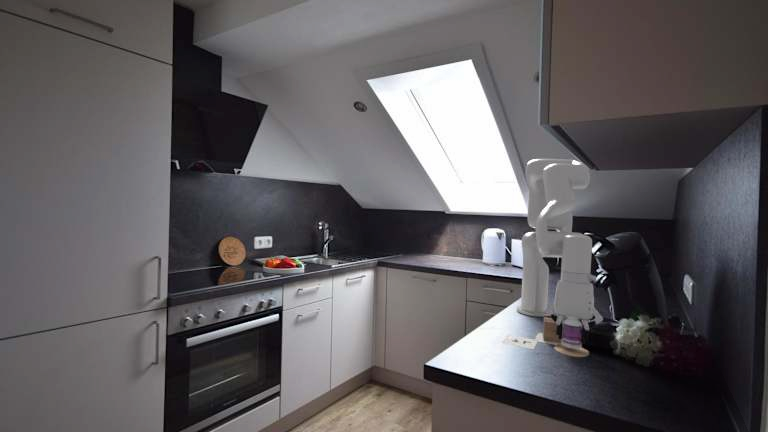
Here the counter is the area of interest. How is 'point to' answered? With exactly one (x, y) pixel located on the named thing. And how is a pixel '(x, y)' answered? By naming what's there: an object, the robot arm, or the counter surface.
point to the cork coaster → (571, 351)
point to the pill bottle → (572, 332)
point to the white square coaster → (520, 342)
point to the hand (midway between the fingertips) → (571, 339)
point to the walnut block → (550, 331)
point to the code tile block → (540, 339)
